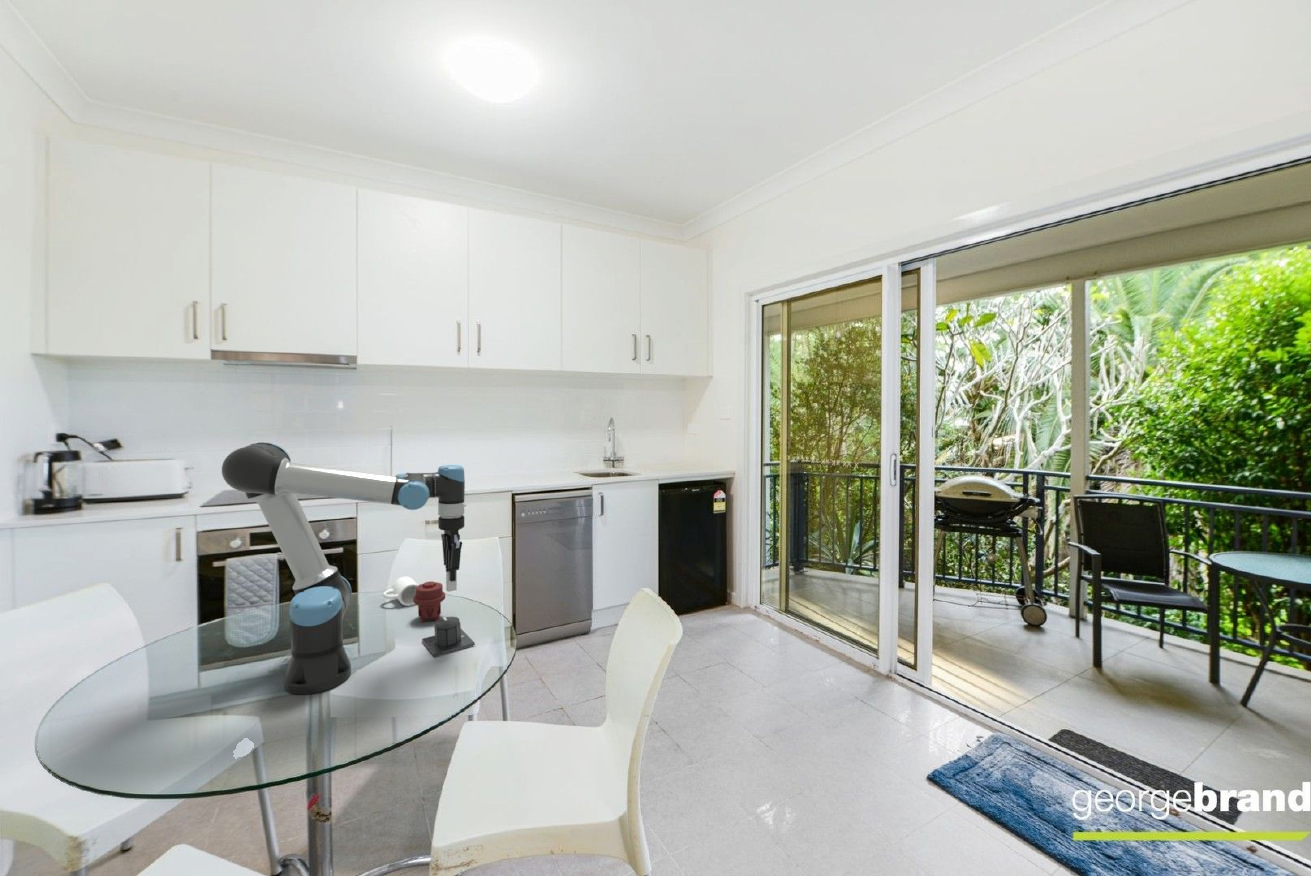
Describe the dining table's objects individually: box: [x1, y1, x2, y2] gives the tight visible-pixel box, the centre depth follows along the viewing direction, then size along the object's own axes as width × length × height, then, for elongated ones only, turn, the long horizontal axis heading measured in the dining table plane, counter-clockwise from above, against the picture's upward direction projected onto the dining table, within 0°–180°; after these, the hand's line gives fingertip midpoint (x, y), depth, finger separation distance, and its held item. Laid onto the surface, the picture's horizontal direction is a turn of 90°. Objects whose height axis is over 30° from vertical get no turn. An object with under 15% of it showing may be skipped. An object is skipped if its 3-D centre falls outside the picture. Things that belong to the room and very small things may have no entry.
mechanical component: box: [413, 581, 446, 623], centre depth 183 cm, size 12×10×10 cm
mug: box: [382, 576, 420, 607], centre depth 196 cm, size 12×10×8 cm
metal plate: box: [421, 628, 476, 658], centre depth 165 cm, size 12×12×5 cm
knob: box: [434, 616, 462, 646], centre depth 165 cm, size 7×7×6 cm
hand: (451, 590), depth 168 cm, fingers closed
